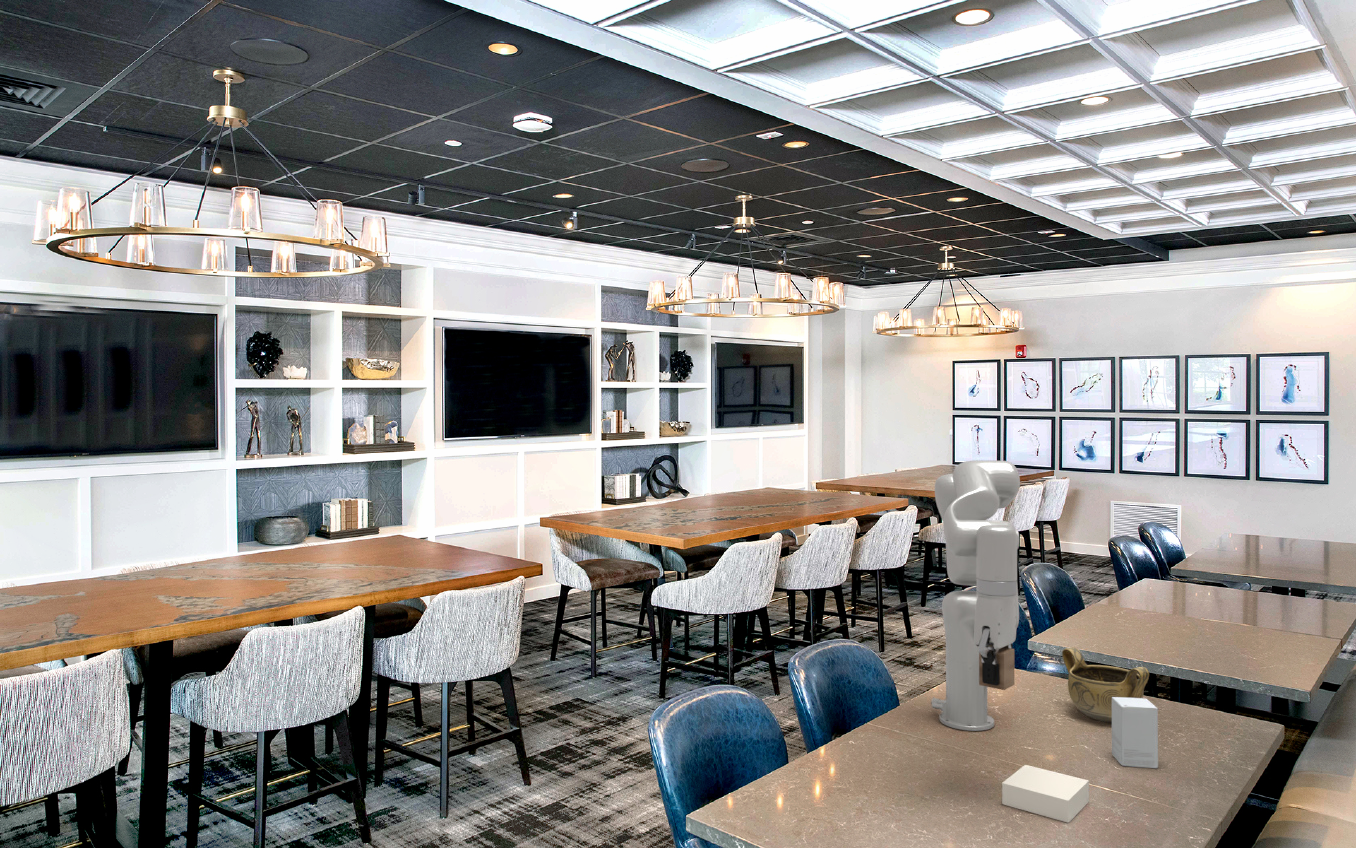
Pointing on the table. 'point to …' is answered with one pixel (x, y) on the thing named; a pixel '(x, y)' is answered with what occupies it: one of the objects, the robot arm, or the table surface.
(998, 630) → the robot arm
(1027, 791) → the base
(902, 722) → the table surface
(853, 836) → the table surface
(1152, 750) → the supplement box
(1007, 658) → the walnut block
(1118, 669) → the ceramic bowl
